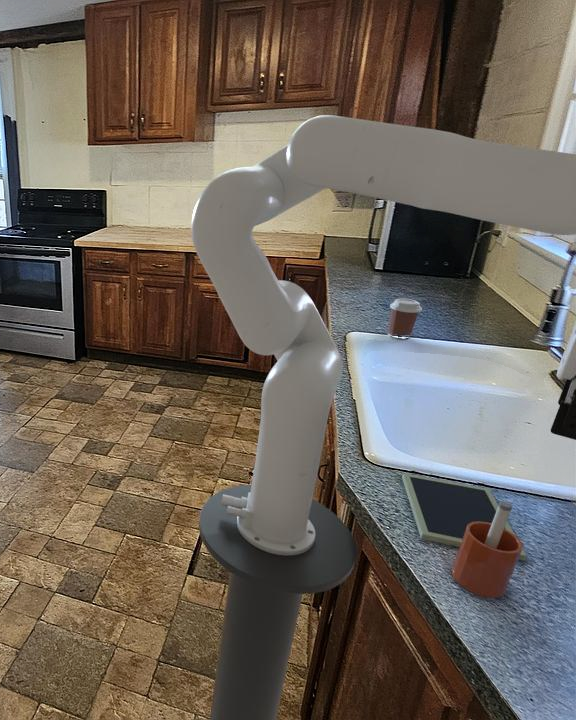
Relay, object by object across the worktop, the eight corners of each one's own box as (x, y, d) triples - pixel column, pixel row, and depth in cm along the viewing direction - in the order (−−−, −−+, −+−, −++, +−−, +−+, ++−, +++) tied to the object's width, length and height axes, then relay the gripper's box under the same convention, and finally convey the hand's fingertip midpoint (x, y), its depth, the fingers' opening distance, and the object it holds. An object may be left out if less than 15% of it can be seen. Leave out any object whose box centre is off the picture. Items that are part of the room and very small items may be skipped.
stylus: (474, 580, 76) (501, 506, 71) (471, 573, 77) (498, 500, 72) (485, 582, 75) (514, 508, 70) (482, 575, 77) (510, 502, 72)
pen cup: (458, 591, 75) (474, 546, 72) (446, 559, 80) (461, 517, 77) (511, 603, 73) (530, 558, 70) (496, 570, 78) (512, 527, 75)
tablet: (420, 539, 84) (422, 533, 84) (401, 477, 100) (402, 472, 100) (524, 561, 80) (527, 555, 80) (487, 493, 96) (489, 488, 95)
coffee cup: (392, 340, 170) (401, 305, 166) (378, 331, 179) (385, 297, 174) (420, 341, 171) (429, 305, 166) (404, 331, 179) (413, 297, 174)
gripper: (585, 264, 65) (539, 390, 71) (576, 290, 53) (522, 437, 60) (671, 274, 60) (613, 407, 67) (682, 305, 48) (611, 463, 55)
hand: (570, 421), depth 63 cm, fingers open, 9 cm apart
